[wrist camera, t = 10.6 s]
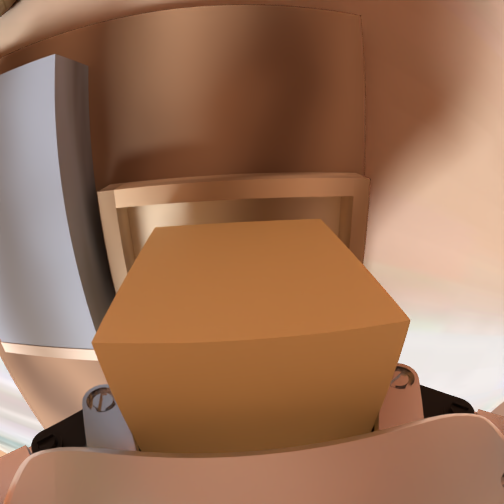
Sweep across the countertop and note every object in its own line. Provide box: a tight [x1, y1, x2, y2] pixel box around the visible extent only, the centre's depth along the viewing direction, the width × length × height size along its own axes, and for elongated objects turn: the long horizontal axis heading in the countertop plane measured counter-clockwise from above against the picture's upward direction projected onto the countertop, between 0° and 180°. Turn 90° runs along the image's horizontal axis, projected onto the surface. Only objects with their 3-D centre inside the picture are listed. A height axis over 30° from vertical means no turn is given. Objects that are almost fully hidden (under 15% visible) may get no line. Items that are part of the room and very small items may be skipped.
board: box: [0, 5, 370, 429], centre depth 13 cm, size 22×26×4 cm
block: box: [91, 219, 410, 453], centre depth 10 cm, size 6×7×6 cm
